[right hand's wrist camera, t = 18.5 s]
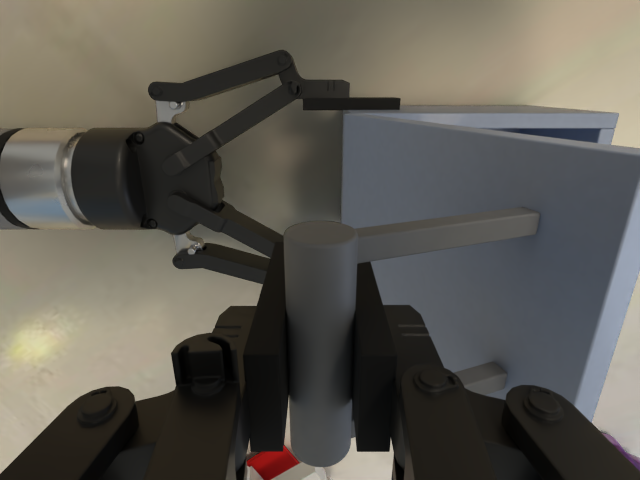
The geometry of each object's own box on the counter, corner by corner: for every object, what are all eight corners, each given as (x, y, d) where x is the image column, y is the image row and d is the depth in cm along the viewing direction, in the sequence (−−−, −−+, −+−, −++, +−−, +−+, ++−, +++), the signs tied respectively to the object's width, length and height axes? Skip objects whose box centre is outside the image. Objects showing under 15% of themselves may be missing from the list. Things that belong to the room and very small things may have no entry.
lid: (678, 152, 9) (328, 183, 6) (575, 477, 13) (325, 590, 10) (360, 113, 23) (209, 116, 20) (354, 271, 27) (226, 293, 24)
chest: (529, 105, 34) (619, 113, 23) (508, 219, 37) (579, 269, 27) (342, 105, 34) (351, 112, 23) (340, 219, 37) (347, 269, 27)
